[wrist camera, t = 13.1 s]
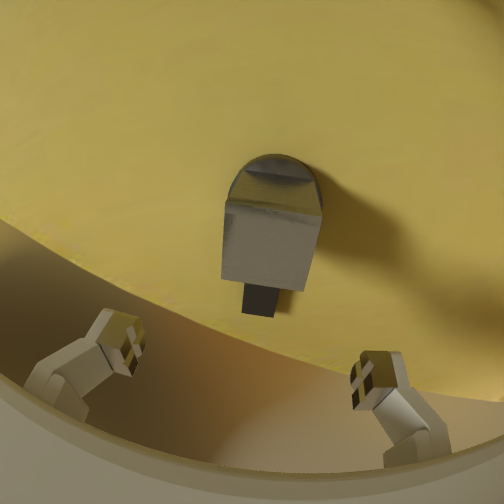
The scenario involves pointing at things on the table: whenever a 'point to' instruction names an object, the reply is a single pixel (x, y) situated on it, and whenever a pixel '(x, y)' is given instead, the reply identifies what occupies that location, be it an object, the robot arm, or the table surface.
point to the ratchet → (255, 296)
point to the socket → (270, 230)
